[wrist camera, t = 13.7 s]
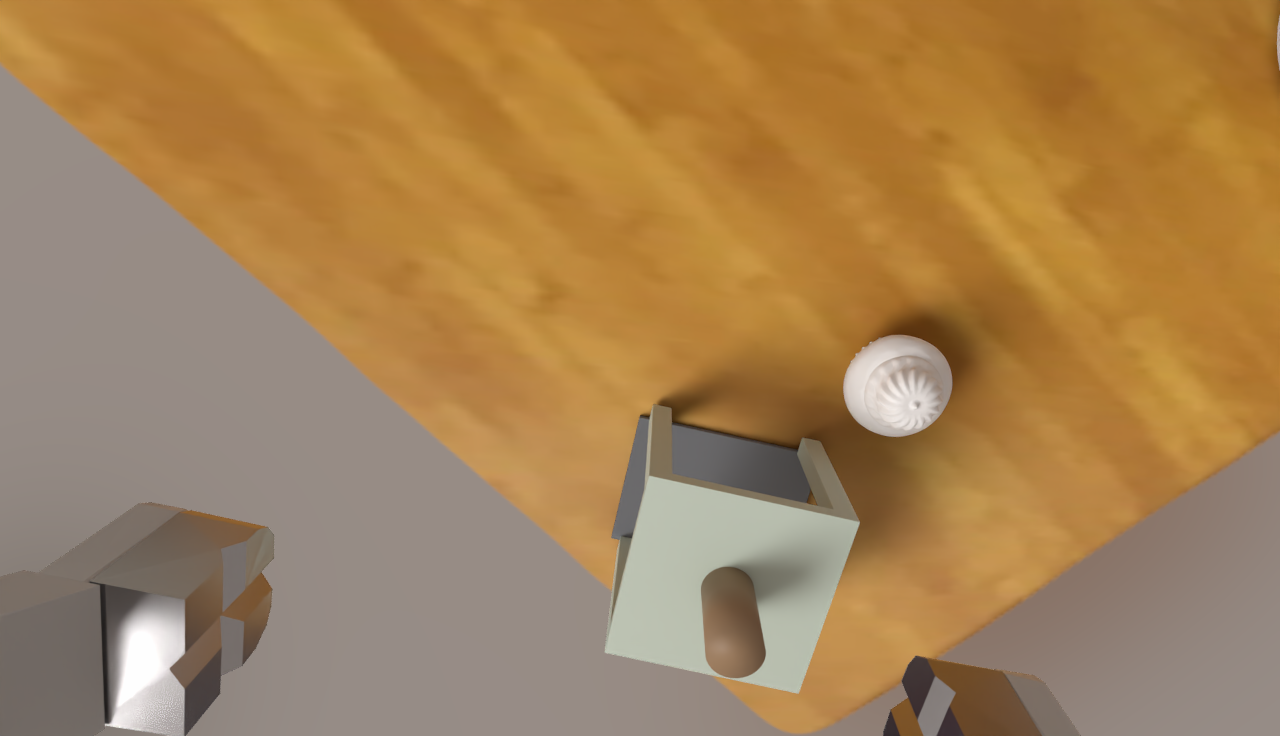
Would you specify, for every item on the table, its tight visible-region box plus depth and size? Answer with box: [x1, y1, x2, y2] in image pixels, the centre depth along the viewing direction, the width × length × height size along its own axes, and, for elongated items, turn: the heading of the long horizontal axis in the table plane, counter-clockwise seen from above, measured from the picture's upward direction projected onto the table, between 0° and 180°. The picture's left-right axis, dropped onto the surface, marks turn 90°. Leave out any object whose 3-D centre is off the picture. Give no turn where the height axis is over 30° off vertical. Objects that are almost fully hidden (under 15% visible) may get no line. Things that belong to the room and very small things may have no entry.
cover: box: [605, 404, 860, 694], centre depth 42 cm, size 11×11×15 cm
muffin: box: [843, 335, 952, 437], centre depth 43 cm, size 6×6×7 cm
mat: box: [612, 415, 811, 540], centre depth 49 cm, size 12×9×1 cm
